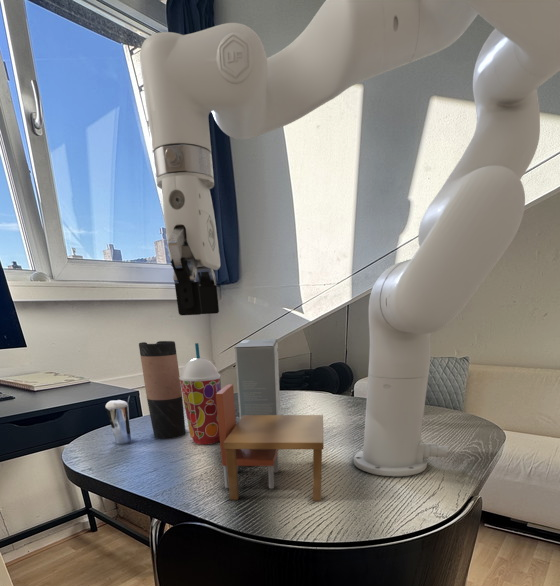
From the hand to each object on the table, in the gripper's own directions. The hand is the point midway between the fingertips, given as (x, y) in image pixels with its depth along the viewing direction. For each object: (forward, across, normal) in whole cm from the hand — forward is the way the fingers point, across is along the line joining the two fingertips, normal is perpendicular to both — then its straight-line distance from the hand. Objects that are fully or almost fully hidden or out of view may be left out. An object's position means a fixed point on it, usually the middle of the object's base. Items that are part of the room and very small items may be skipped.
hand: (200, 314), depth 61 cm
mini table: (+26, -3, -11) cm, 28 cm away
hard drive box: (+26, +21, -5) cm, 33 cm away
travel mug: (+25, +23, +17) cm, 39 cm away
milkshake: (+25, +17, +25) cm, 40 cm away
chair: (+26, -3, -7) cm, 27 cm away
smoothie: (+26, +19, +7) cm, 32 cm away
